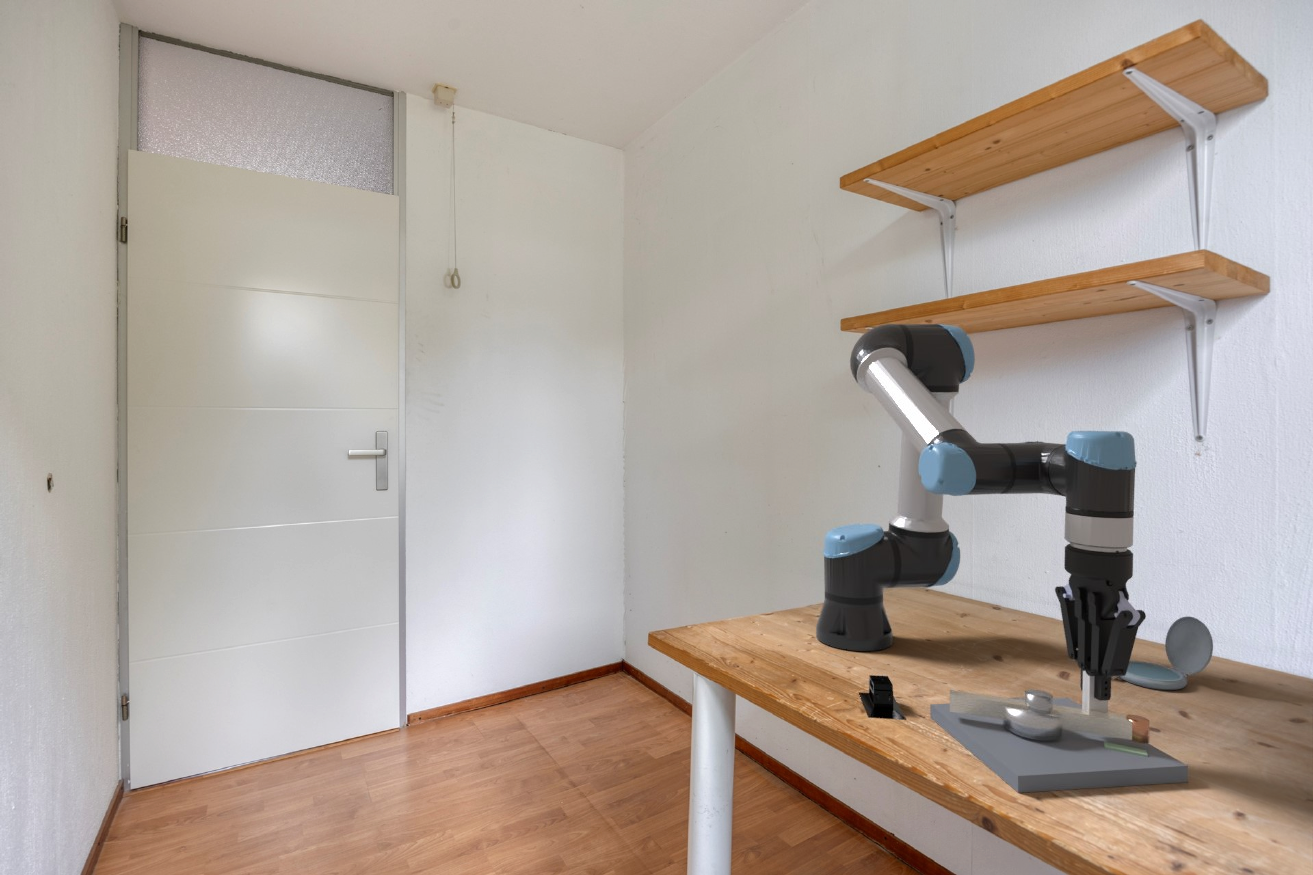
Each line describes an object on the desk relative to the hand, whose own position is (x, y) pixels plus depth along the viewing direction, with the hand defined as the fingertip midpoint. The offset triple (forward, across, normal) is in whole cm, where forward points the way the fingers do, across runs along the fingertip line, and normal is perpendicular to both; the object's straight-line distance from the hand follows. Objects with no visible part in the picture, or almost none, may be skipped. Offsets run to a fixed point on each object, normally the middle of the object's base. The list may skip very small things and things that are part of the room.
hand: (1094, 719), depth 85 cm
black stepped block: (+5, +16, +22) cm, 28 cm away
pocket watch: (+5, +21, -28) cm, 35 cm away
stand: (+4, +1, +6) cm, 7 cm away
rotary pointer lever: (+2, +1, +6) cm, 7 cm away
